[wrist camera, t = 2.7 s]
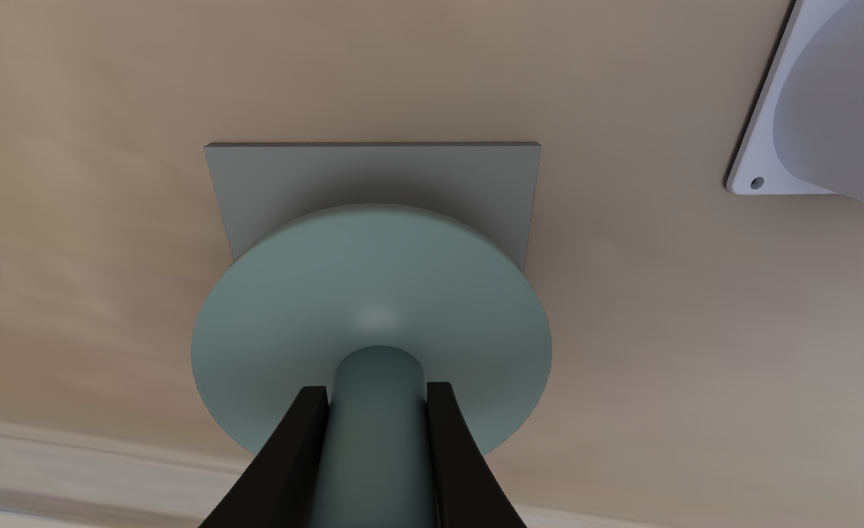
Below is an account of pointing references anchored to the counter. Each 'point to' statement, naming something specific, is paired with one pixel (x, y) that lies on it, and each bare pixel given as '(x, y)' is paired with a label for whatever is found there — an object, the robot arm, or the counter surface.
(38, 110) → the counter surface
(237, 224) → the mat
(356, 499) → the lid
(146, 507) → the counter surface
